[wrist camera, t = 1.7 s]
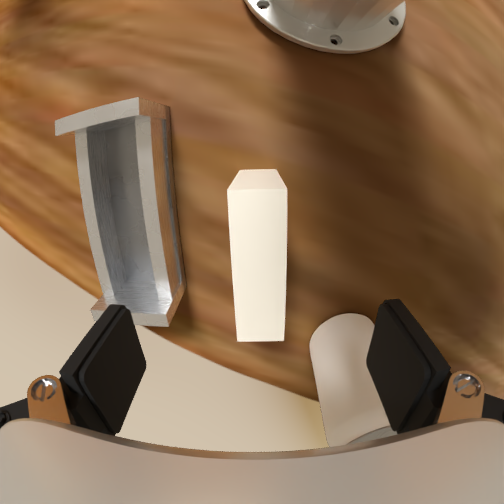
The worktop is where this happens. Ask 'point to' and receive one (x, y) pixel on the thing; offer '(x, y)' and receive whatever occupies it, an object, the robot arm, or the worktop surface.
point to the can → (347, 381)
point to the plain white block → (258, 253)
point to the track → (130, 206)
